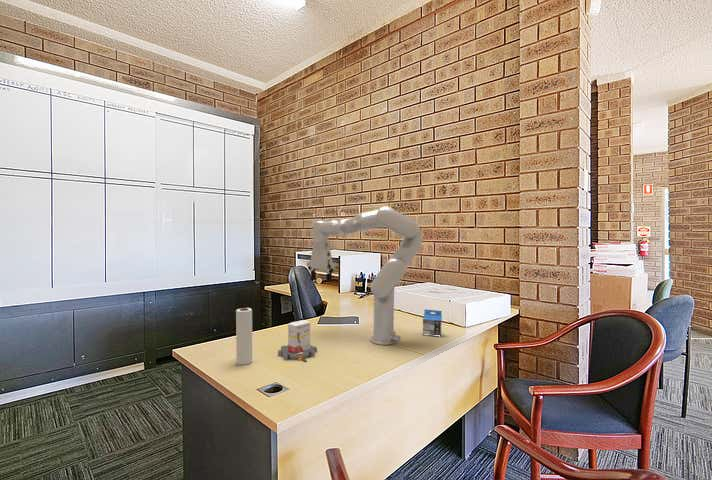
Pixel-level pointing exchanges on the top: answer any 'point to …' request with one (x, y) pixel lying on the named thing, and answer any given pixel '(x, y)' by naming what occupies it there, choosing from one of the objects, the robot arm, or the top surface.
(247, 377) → the top surface
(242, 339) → the paper towel roll
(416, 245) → the robot arm
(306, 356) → the sprocket
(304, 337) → the ink box
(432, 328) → the label tape cartridge
